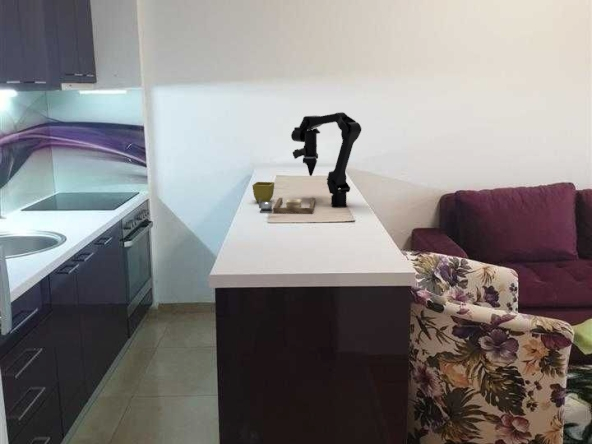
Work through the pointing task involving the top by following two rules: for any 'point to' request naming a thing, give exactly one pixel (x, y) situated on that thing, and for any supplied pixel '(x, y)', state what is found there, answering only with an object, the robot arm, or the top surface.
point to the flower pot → (263, 191)
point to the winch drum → (265, 206)
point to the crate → (293, 203)
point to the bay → (293, 210)
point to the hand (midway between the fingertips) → (310, 175)
